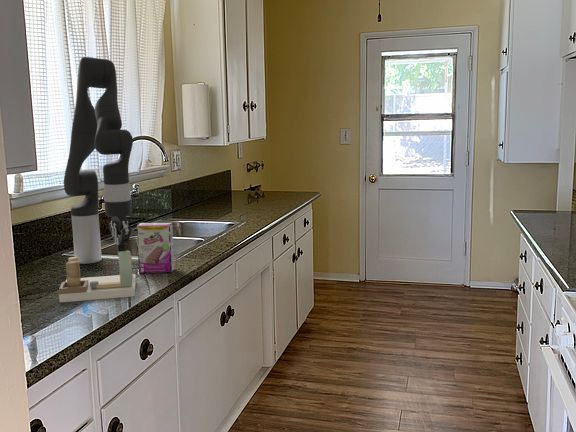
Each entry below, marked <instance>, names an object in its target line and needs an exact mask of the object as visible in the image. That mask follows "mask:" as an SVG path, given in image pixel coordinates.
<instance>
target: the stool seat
mask: <svg viewBox="0 0 576 432" xmlns="http://www.w3.org/2000/svg"><path fill="white" fill-rule="evenodd" d="M132 257H133V256H131V270H132V271H133V259H132ZM71 261H78V262H79V257H75V256H70V257H68V261H67V262H71ZM79 269H80V266H79ZM80 270H81V269H80ZM92 281H98V283H106V282H120V274H117V275H116V274H115V275H106V276H105V275H104V276H92V277H80V283H81V286H80V287H67V278H66V280H65V281H62V282H61V284H60V286H59V288H58V297H59V303H70V302H81V301H82V302H83V301H84V302H85V301H92V300H93V301H95V300H104V299H105V300H106V299H117V298H118V299H119V298H127V297H128V298H129V297H136V285H137V277H136V273H133V272H132V286H129V287H109V288H96V289H90V282H92Z"/></svg>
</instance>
